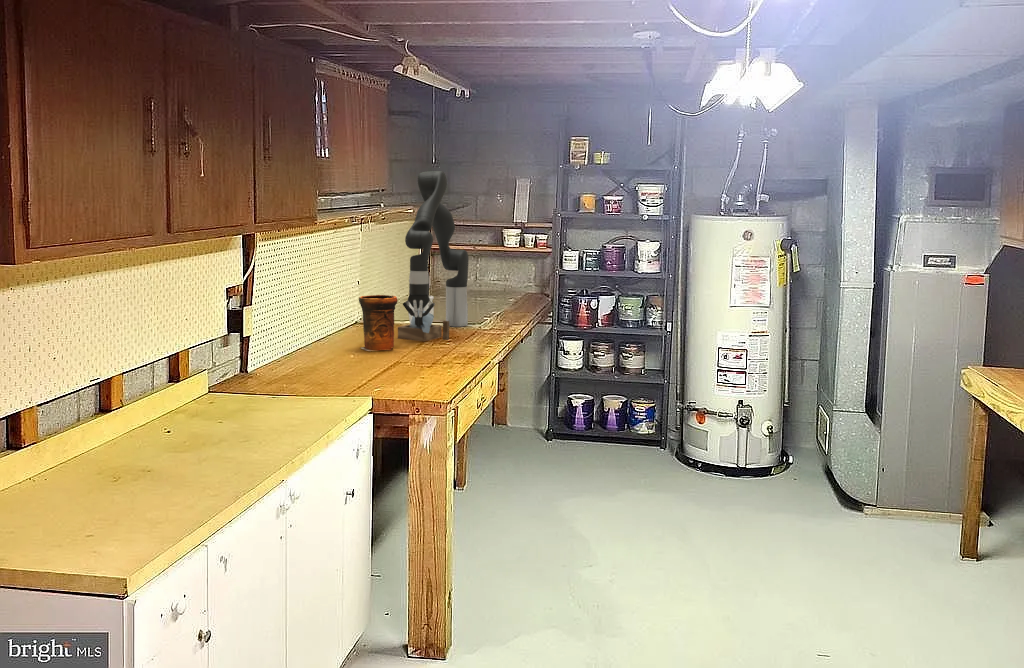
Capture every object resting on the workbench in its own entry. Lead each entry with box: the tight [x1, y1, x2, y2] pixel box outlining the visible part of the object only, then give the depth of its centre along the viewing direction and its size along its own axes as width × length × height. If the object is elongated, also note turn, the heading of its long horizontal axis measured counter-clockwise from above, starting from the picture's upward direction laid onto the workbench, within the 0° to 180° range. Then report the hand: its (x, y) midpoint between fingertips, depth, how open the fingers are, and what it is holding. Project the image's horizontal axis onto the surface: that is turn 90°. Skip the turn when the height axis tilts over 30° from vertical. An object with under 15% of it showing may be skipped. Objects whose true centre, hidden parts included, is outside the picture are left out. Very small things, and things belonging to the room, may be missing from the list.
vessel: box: [358, 294, 398, 352], centre depth 372 cm, size 14×14×20 cm
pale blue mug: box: [409, 310, 435, 333], centre depth 391 cm, size 15×8×9 cm, turn 14°
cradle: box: [396, 320, 450, 342], centre depth 394 cm, size 14×19×8 cm
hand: (418, 326), depth 387 cm, fingers closed
